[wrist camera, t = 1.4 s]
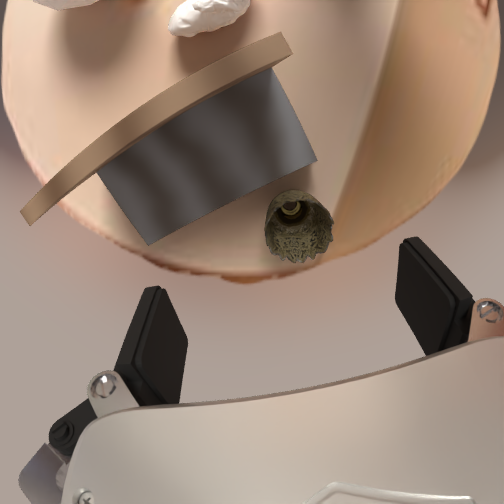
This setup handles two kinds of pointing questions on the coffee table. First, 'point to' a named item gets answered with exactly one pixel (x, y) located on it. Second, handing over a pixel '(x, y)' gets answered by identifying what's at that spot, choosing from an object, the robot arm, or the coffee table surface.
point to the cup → (297, 227)
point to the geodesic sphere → (64, 3)
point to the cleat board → (193, 145)
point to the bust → (205, 16)
